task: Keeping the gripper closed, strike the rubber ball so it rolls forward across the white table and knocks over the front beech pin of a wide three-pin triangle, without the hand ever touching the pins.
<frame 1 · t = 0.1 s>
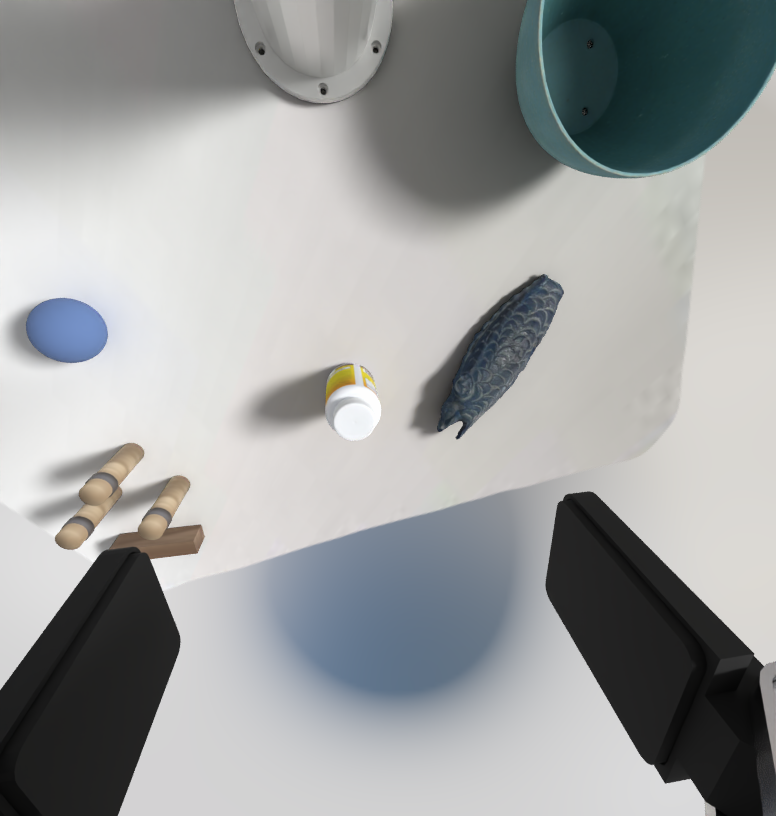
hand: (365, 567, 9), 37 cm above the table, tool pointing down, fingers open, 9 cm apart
supplement bottle: (350, 383, 46), on the table
ball: (68, 330, 38), on the table
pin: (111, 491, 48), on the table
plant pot: (570, 82, 37), on the table
back wall: (163, 535, 52), on the table
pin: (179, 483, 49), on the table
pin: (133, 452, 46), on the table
fish model: (490, 355, 47), on the table
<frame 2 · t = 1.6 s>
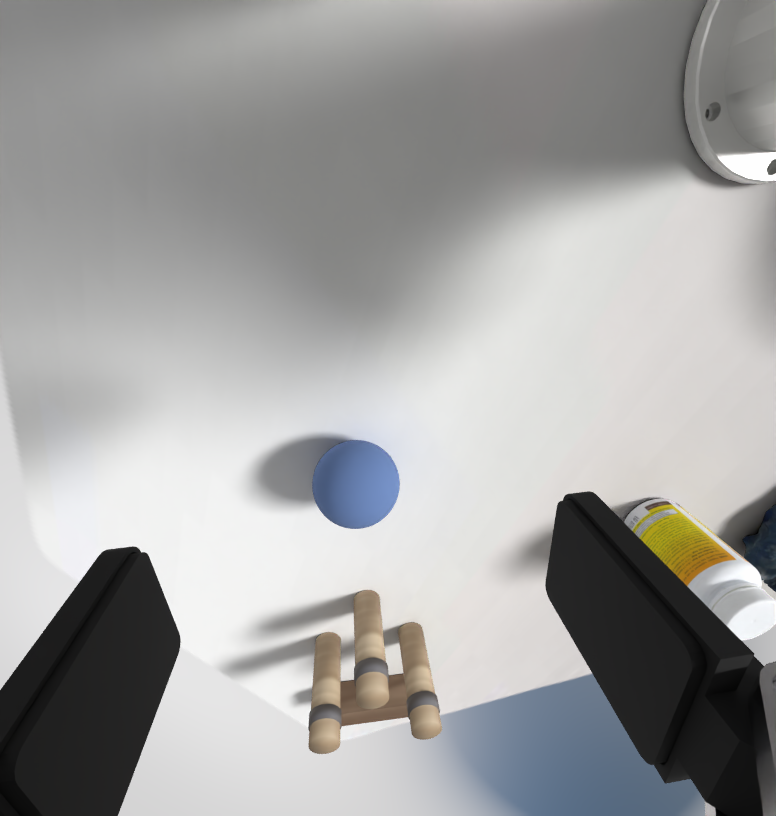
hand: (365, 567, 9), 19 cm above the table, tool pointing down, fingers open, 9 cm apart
supplement bottle: (646, 519, 36), on the table
ball: (356, 483, 28), on the table
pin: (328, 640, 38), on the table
back wall: (373, 683, 42), on the table
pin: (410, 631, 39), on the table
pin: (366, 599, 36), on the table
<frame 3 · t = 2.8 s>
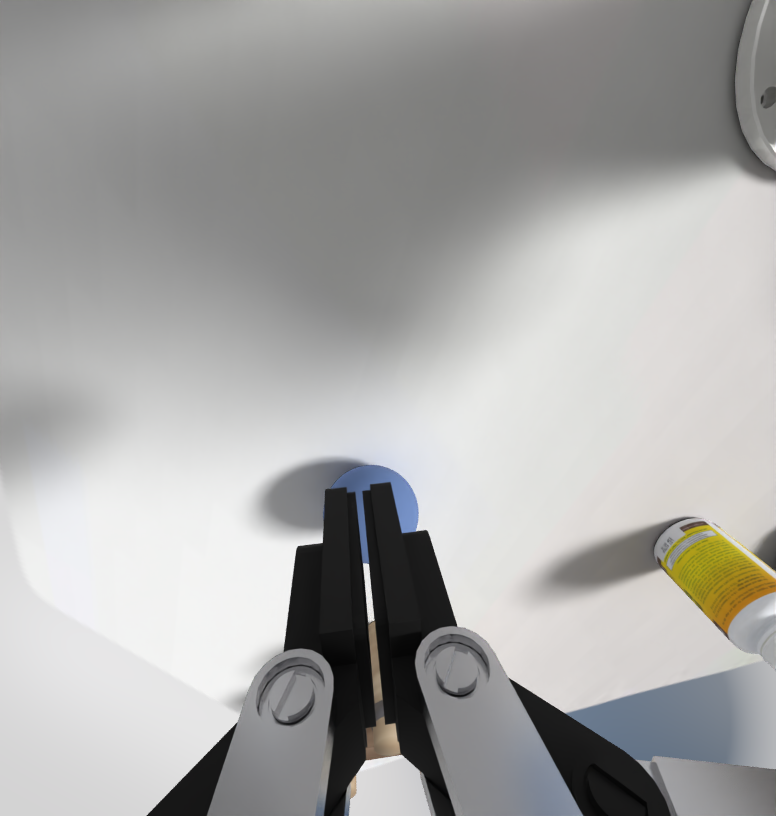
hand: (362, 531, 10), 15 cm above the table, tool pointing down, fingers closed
supplement bottle: (680, 539, 34), on the table
ball: (371, 512, 25), on the table
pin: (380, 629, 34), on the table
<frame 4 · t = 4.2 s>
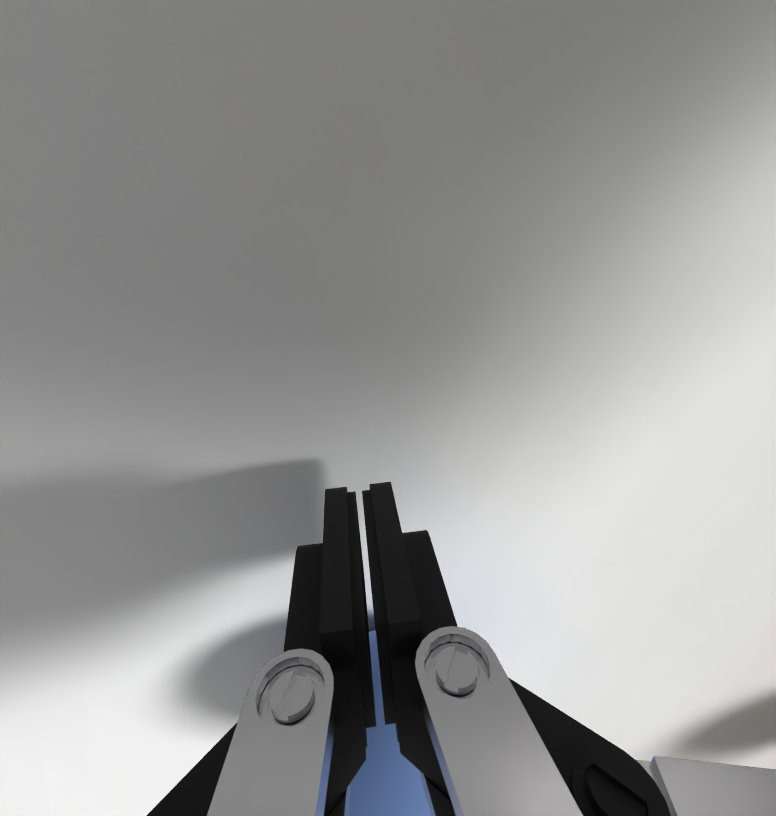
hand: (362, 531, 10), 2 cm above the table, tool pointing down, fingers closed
ball: (395, 740, 12), on the table
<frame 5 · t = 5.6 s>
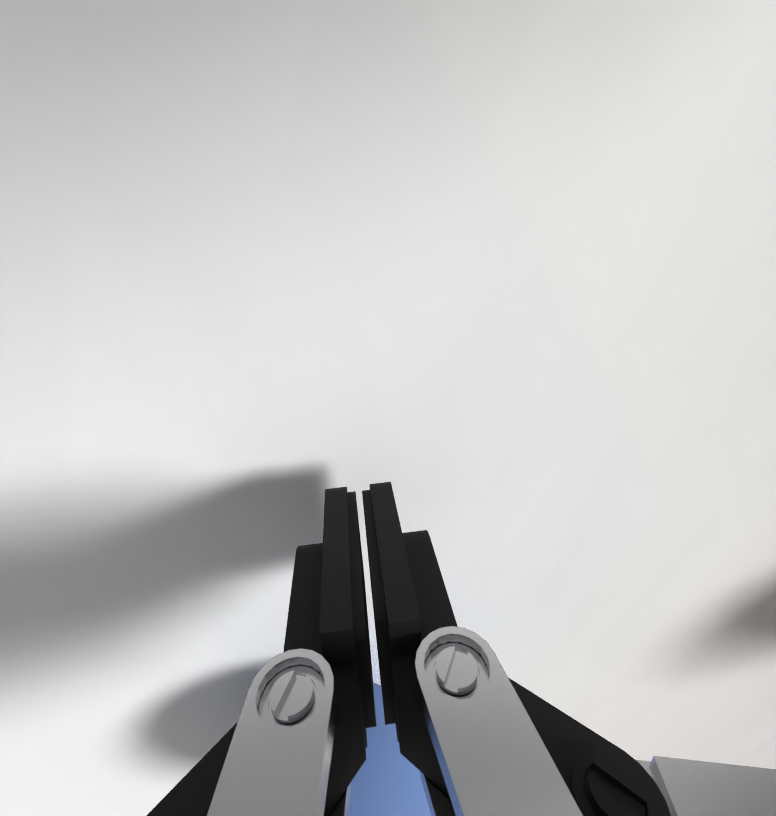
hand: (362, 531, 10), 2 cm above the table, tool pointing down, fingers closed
ball: (340, 792, 12), on the table
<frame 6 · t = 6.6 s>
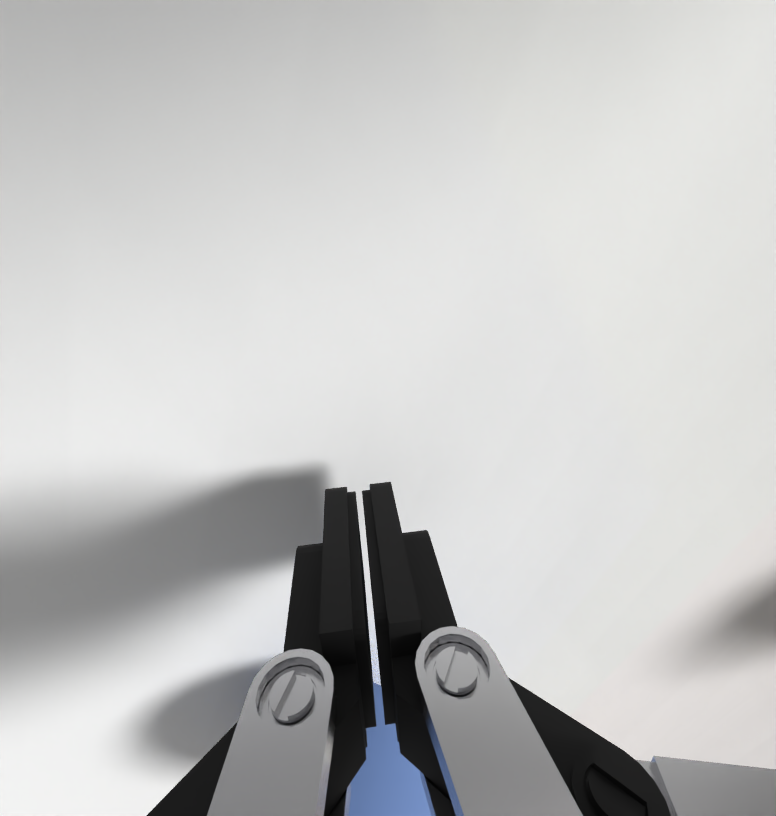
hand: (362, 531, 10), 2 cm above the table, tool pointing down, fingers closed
ball: (340, 792, 12), on the table
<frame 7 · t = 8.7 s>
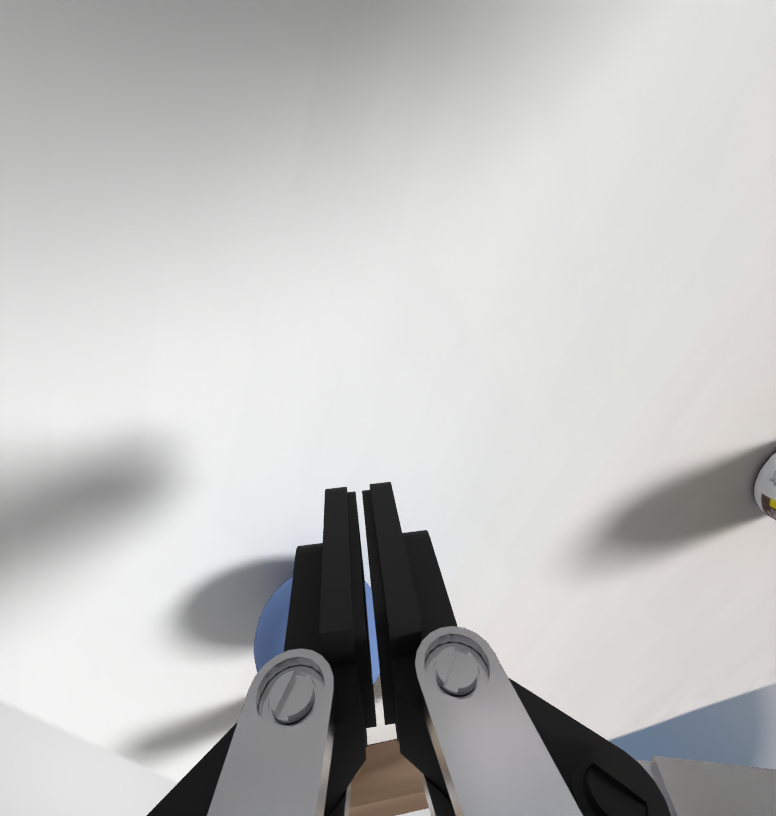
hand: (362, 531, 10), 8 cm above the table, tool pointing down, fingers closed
ball: (322, 636, 18), on the table
back wall: (371, 753, 27), on the table
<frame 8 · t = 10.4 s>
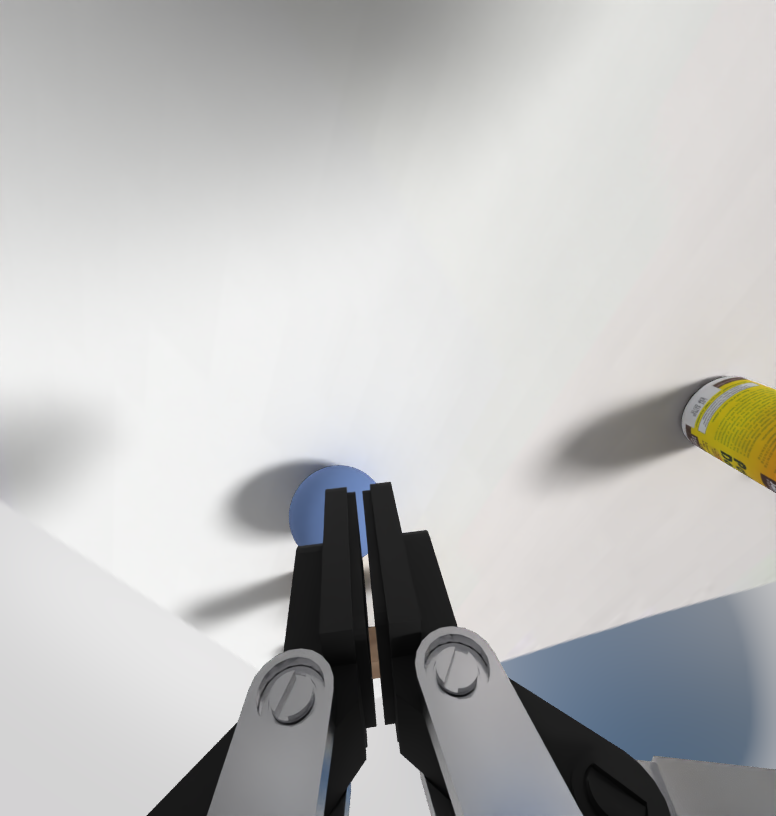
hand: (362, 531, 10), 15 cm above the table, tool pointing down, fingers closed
supplement bottle: (710, 408, 29), on the table
ball: (338, 513, 25), on the table
back wall: (374, 634, 34), on the table
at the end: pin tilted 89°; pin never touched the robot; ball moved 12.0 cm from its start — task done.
